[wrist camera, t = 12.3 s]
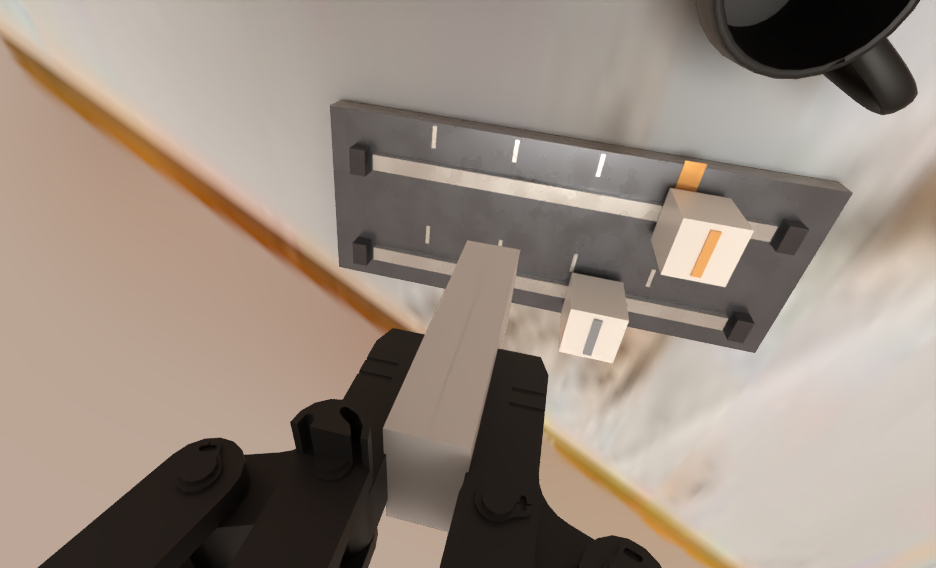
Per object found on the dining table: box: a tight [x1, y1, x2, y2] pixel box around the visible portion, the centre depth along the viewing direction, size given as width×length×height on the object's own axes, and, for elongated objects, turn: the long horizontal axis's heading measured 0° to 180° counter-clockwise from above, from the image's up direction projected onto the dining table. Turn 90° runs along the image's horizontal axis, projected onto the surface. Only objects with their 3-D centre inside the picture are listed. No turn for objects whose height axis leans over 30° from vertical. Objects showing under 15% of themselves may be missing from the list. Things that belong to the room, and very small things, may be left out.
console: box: [330, 100, 852, 353], centre depth 36 cm, size 14×36×3 cm, turn 84°
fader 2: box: [651, 188, 754, 287], centre depth 30 cm, size 4×4×5 cm
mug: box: [696, 0, 920, 115], centre depth 23 cm, size 8×12×10 cm
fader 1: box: [559, 273, 629, 363], centre depth 35 cm, size 4×4×5 cm
